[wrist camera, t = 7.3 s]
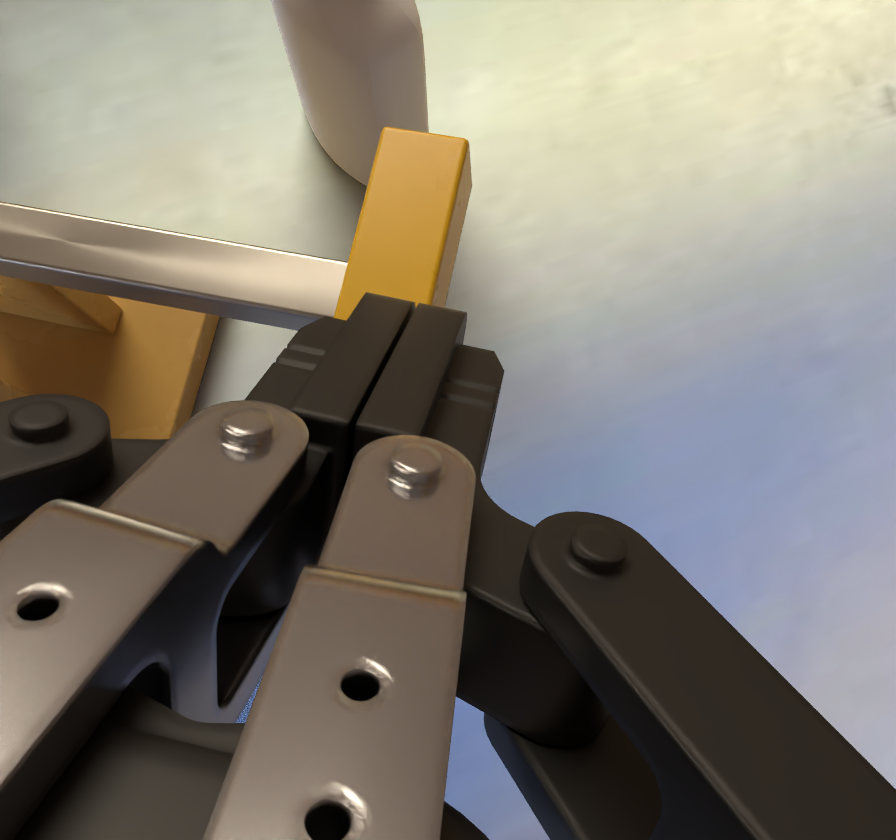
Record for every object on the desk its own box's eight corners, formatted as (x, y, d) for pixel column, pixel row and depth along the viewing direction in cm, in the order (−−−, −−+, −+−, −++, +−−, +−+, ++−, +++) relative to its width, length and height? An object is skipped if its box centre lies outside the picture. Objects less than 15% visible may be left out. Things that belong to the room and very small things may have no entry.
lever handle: (473, 194, 16) (468, 122, 13) (405, 499, 14) (386, 476, 12) (-222, 82, 17) (-334, 0, 15) (-338, 345, 16) (-482, 300, 14)
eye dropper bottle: (412, 57, 31) (389, -278, 19) (434, 191, 29) (424, -79, 18) (298, 73, 30) (203, -255, 19) (315, 208, 29) (225, -52, 18)
